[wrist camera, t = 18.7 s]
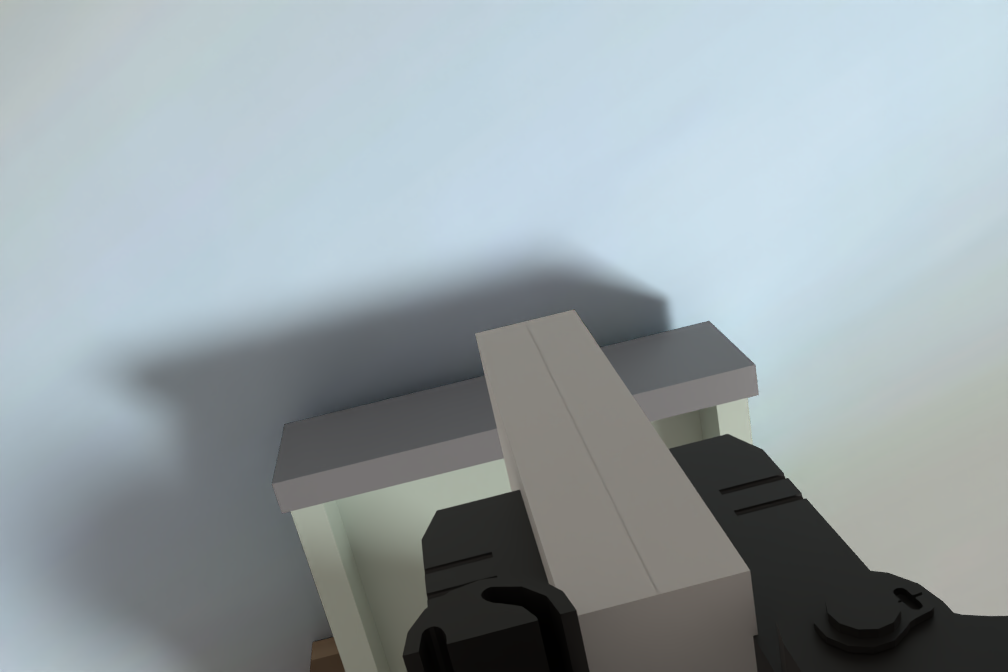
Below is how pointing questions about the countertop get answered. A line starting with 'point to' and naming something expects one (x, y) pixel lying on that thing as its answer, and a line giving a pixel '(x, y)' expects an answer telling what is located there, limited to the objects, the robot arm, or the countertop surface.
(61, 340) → the countertop surface
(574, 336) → the robot arm
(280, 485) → the tray
